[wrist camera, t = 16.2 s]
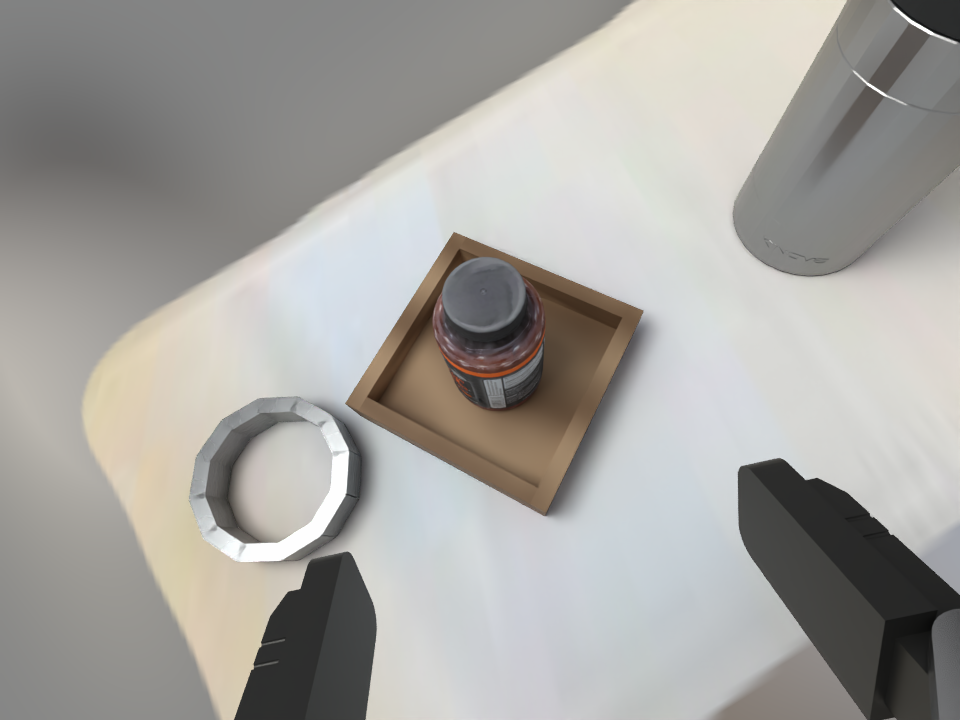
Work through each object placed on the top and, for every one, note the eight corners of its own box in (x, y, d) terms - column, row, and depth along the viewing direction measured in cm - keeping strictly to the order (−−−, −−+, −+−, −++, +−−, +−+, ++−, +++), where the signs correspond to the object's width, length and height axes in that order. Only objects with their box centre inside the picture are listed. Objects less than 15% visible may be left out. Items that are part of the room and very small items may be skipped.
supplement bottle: (439, 355, 36) (399, 271, 25) (515, 315, 36) (507, 215, 26) (480, 430, 34) (455, 372, 23) (560, 386, 34) (571, 310, 24)
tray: (459, 254, 40) (453, 232, 37) (635, 329, 36) (643, 311, 33) (360, 415, 36) (345, 403, 33) (544, 516, 32) (545, 512, 30)
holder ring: (272, 383, 37) (254, 372, 35) (388, 448, 35) (378, 440, 32) (184, 512, 35) (159, 509, 32) (303, 592, 32) (285, 594, 30)
